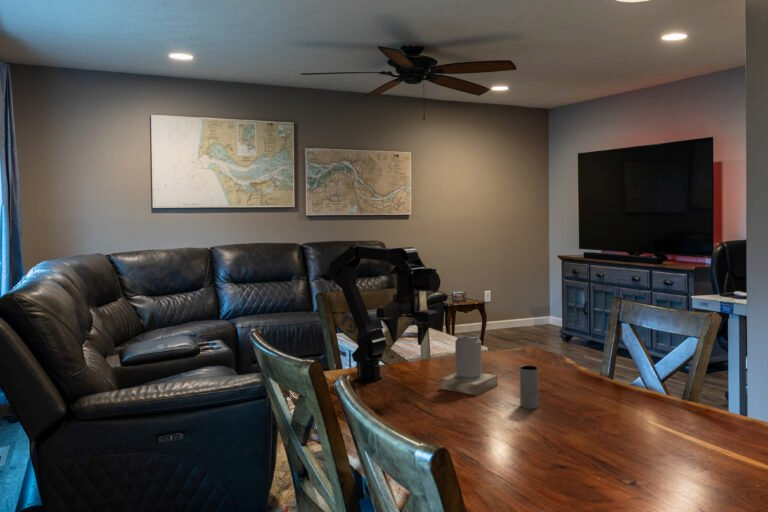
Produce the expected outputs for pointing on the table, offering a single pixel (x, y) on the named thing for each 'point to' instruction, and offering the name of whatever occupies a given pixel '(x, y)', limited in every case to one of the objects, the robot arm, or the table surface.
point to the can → (468, 356)
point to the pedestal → (469, 383)
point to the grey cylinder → (529, 387)
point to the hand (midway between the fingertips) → (406, 343)
